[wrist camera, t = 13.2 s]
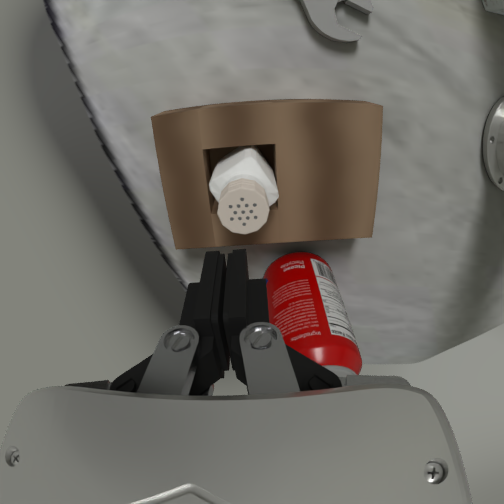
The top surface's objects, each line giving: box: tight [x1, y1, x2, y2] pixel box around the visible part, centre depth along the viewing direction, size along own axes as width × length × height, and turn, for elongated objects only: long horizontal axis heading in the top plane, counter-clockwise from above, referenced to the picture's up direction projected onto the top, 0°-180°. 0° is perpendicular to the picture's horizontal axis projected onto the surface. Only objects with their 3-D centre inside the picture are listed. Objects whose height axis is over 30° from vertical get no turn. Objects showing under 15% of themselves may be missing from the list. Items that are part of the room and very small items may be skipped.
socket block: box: [151, 99, 383, 249], centre depth 25 cm, size 18×12×4 cm, turn 94°
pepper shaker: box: [209, 145, 279, 234], centre depth 22 cm, size 4×4×10 cm
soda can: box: [263, 252, 362, 377], centre depth 27 cm, size 8×8×15 cm
